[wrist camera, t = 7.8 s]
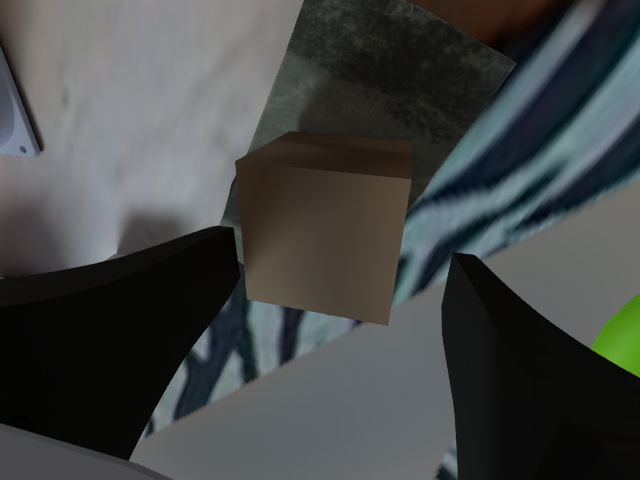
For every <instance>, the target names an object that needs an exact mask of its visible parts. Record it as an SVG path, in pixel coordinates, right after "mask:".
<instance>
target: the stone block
mask: <svg viewBox="0 0 640 480" xmlns="http://www.w3.org/2000/svg"><path fill="white" fill-rule="evenodd" d="M516 64H517V63H516V62H514V61H512V60H511V59H509V58H508V57H506V56H504V55H503V54H501V53H499V52H497V51H495V50H493V49H492V48H490V47H488V46H486V45H485V44H483V43H481V42H480V41H478V40H476V39H475V38H473V37H471V36H470V35H468V34H466V33H465V32H463V31H461V30H459V29H457V28H456V27H454V26H452V25H451V24H449V23H447V22H446V21H444V20H442V19H440V18H439V17H437V16H435V15H433V14H432V13H430V12H428V11H426V10H425V9H423V8H421V7H419V6H418V5H416V4H414V3H412V2H411V1H409V0H304V2H303V5H302V8H301V10H300V13H299V16H298V19H297V21H296V24H295V27H294V30H293V33H292V36H291V39H290V41H289V44H288V47H287V50H286V53H285V56H284V59H283V61H282V64H281V66H280V69H279V71H278V74H277V76H276V79H275V82H274V84H273V87H272V90H271V92H270V95H269V97H268V100H267V103H266V105H265V108H264V110H263V113H262V115H261V118H260V121H259V123H258V126H257V129H256V131H255V134H254V137H253V140H252V142H251V145H250V148H249V150H248V153H247V154H249V153H251V152H253V151H255V150H257V149H258V148H260V147H262V146H264V145H266V144H267V143H269V142H271V141H273V140H275V139H276V138H278V137H280V136H282V135H284V134H285V133H287V132H289V131H296V132H308V133H321V134H333V135H345V136H358V137H370V138H383V139H395V140H408V141H413V155H412V181H411V187H410V193H409V199H408V205H407V211H406V213H407V212H408V211H409V209H410V208H411V207H412V205H413V204H414V203H415V201H416V200H417V198H418V197H419V196H420V195H422V194H423V192H424V190H425V189H426V187H427V186H428V184H429V182H430V180H431V178H432V177H433V176H434V174H435V173H436V172H437V170H438V169H439V168H440V167H441V165H442V164H443V163H444V161H445V160H446V158H447V157H448V156H449V154H450V153H451V151H452V150H453V149H454V147H455V146H456V145H457V144H458V142H459V141H460V140H461V138H462V137H463V136H464V134H465V133H466V131H467V130H468V129H469V127H470V126H471V125H472V123H473V122H474V121H475V119H476V118H477V117H478V115H479V114H480V113H481V111H482V110H483V109H484V107H485V106H486V105H487V103H488V102H489V101H490V99H491V98H492V97H493V95H494V94H495V93H496V91H497V90H498V89H499V87H500V86H501V85H502V83H503V82H504V80H505V79H506V78H507V76H508V75H509V74H510V72H511V71H512V70H513V68H514V67H515V66H516ZM219 226H226V227H234V233H235V241H236V248H237V256H238V261H239V262H241V263H242V264H244V257H243V245H242V234H241V222H240V211H239V199H238V188H237V176H235V178H234V180H233V182H232V184H231V188H230V193H229V197H228V201H227V204H226V208H225V211H224V214H223V217H222V219H221V222H220V225H219ZM327 315H328V314H327Z"/></svg>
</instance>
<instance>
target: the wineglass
mask: <svg viewBox="0 0 640 480" xmlns="http://www.w3.org/2000/svg"><path fill="white" fill-rule="evenodd" d="M591 350H593V351H595V352H596V353H598V354H600V355H601V356H603V357H605V358H606V359H608V360H610V361H611V362H613V363H615V364H616V365H618V366H620V367H622V368H623V369H625V370H627V371H629V372H631V373H632V374H634V375H636V376H638V377H640V294H639V295H637V296H636V297H634V298H633V299H632V300H631V301H630V302H628V303H627V304H626V305H625V306H624V307H623V308H622V309H621V310H620V311H619V312H618V313H617V314H616V315H615V316H613V317H612V318H611V319H610V320H609V321H608V322H607V323H606V324H605V326H604V327H603V329H602V331H601V332H600V334H599V336H598V337H597V339H596V341H595V342H594V344H593V346H592V347H591Z"/></svg>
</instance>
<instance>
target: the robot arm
mask: <svg viewBox="0 0 640 480" xmlns="http://www.w3.org/2000/svg"><path fill="white" fill-rule="evenodd" d="M0 155H10V156H23V157H36V156H39V155H40V149H39V146H38V144H37V141H36V138H35V136H34V133H33V131H32V128H31V125H30V123H29V120H28V117H27V115H26V112H25V109H24V107H23V104H22V101H21V99H20V96H19V94H18V91H17V88H16V86H15V83H14V80H13V78H12V75H11V72H10V70H9V67H8V64H7V62H6V59H5V57H4V54H3V51H2V49H1V46H0ZM239 278H240V271H239V264H238V256H237V248H236V241H235V233H234V227H226V226H213V227H209V228H206V229H202V230H199V231H196V232H193V233H191V234H188V235H185V236H182V237H179V238H177V239H174V240H171V241H168V242H165V243H163V244H160V245H157V246H154V247H151V248H147V249H144V250H141V251H138V252H135V253H132V254H129V255H126V256H122V257H118V258H115V259H111V260H107V261H103V262H99V263H95V264H91V265H86V266H81V267H75V268H70V269H65V270H60V271H55V272H49V273H42V274H35V275H28V276H20V277H12V278H3V279H0V480H173V479H171V478H169V477H166V476H164V475H162V474H160V473H157V472H155V471H153V470H150V469H148V468H146V467H144V466H141V465H139V464H137V463H133V462H130V461H129V459H130V457H131V455H132V452H133V450H134V448H135V446H136V444H137V442H138V441H139V439H140V437H141V435H142V433H143V431H144V429H145V427H146V425H147V423H148V421H149V419H150V417H151V415H152V413H153V412H154V410H155V408H156V406H157V404H158V403H159V401H160V399H161V397H162V395H163V394H164V392H165V390H166V388H167V386H168V385H169V383H170V381H171V380H172V378H173V376H174V375H175V373H176V371H177V370H178V368H179V366H180V365H181V363H182V361H183V360H184V358H185V357H186V355H187V354H188V353H189V351H190V350H191V348H192V347H193V346H194V344H195V343H196V342H197V340H198V339H199V338H200V336H201V335H202V334H203V332H204V331H205V330H206V329H207V327H208V326H209V325H210V323H211V322H212V321H213V319H214V318H215V317H216V315H217V314H218V313H219V311H220V310H221V309H222V307H223V306H224V305H225V303H226V302H227V300H228V299H229V297H230V295H231V294H232V292H233V290H234V288H235V286H236V284H237V282H238V280H239ZM441 307H442V308H441V309H442V337H443V343H444V350H445V355H446V362H447V368H448V374H449V380H450V386H451V392H452V398H453V405H454V413H455V427H456V445H457V466H458V480H640V377H638V376H636V375H634V374H632V373H631V372H629V371H627V370H625V369H623V368H622V367H620V366H618V365H616V364H615V363H613V362H611V361H610V360H608V359H606V358H605V357H603V356H601V355H600V354H598V353H596V352H595V351H593V350H591V349H590V348H588V347H586V346H585V345H583V344H582V343H580V342H579V341H577V340H575V339H574V338H573V337H571V336H569V335H568V334H567V333H565V332H564V331H563V330H561V329H560V328H558V327H557V326H555V325H554V324H553V323H551V322H550V321H549V320H547V319H546V318H545V317H543V316H542V315H541V314H539V313H538V312H537V311H536V310H534V309H533V308H532V307H531V306H530V305H528V304H527V303H526V302H525V301H523V300H522V299H521V298H520V297H519V296H518V295H517V294H515V293H514V292H513V291H512V290H511V289H510V288H509V287H508V286H506V284H505V283H503V282H502V281H501V280H500V279H499V278H498V277H497V276H496V275H495V274H494V273H493V272H492V271H491V270H490V269H489V268H488V267H487V266H486V265H485V264H484V263H483V262H482V261H481V260H480V259H479V258H478V257H477V256H475V255H472V254H464V253H455V252H453V253H452V258H451V263H450V268H449V273H448V277H447V282H446V287H445V292H444V297H443V302H442V306H441Z"/></svg>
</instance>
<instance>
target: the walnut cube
mask: <svg viewBox="0 0 640 480" xmlns="http://www.w3.org/2000/svg"><path fill="white" fill-rule="evenodd" d="M412 155H413V141H408V140H395V139H383V138H370V137H358V136H345V135H333V134H321V133H308V132H296V131H289V132H287V133H285V134H284V135H282V136H280V137H278V138H276V139H275V140H273V141H271V142H269V143H267V144H266V145H264V146H262V147H260V148H258V149H257V150H255V151H253V152H251V153H249V154H247V155H246V156H244V157H242V158H240V159H238V160H237V161H235V164H236V176H237V188H238V199H239V211H240V222H241V234H242V245H243V257H244V269H245V280H246V292H247V299H248V300H254V301H259V302H264V303H270V304H275V305H280V306H286V307H291V308H296V309H301V310H307V311H312V312H317V313H323V314H328V315H333V316H339V317H344V318H349V319H355V320H360V321H365V322H371V323H376V324H382V325H387V326H388V322H389V315H390V309H391V303H392V297H393V291H394V285H395V279H396V272H397V266H398V260H399V254H400V248H401V242H402V236H403V230H404V223H405V217H406V211H407V205H408V199H409V193H410V187H411V181H412Z"/></svg>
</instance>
